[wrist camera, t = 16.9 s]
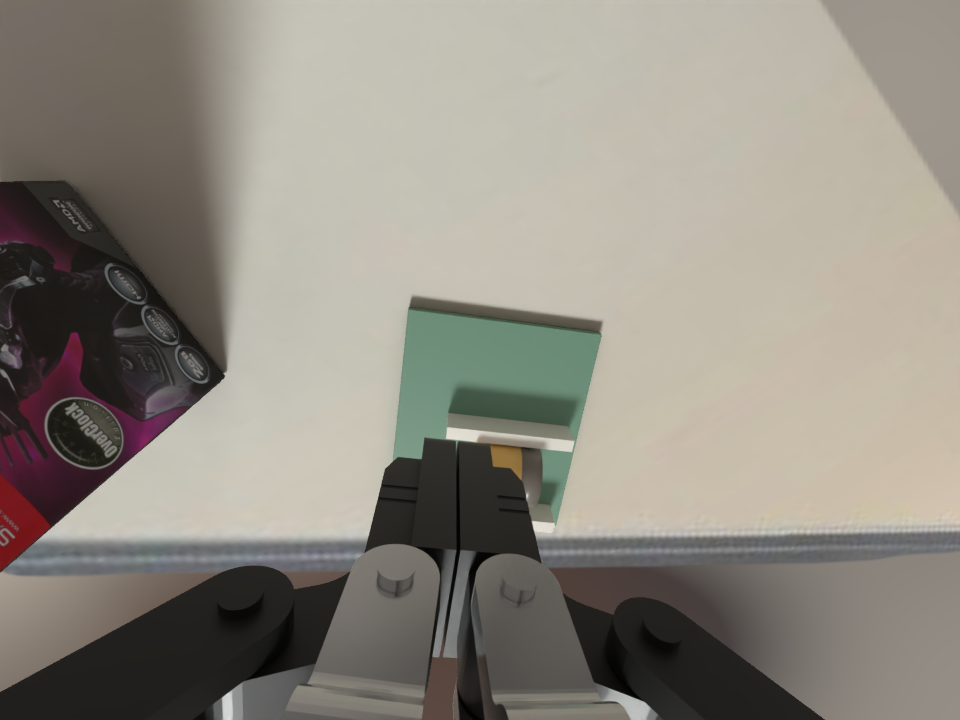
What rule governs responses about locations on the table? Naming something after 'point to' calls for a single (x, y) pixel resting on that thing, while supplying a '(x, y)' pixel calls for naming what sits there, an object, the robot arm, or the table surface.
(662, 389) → the table surface
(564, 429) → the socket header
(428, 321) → the green board
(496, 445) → the amber plug
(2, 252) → the graphics card box
